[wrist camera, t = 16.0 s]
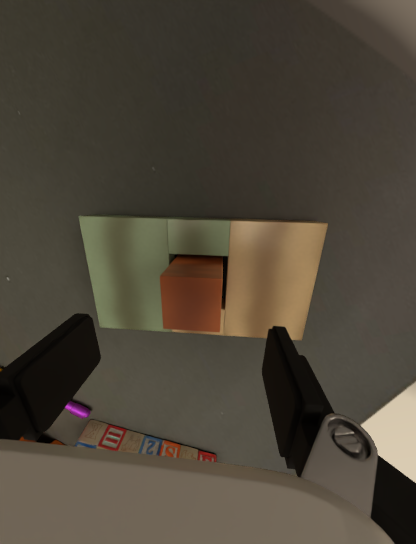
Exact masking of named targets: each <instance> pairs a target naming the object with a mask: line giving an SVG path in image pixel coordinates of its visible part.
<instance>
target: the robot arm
mask: <svg viewBox="0 0 416 544" xmlns="http://www.w3.org/2000/svg"><path fill="white" fill-rule="evenodd" d="M100 359H101V355H100V350H99V346H98V342H97V337H96V333H95V328H94V324H93V319H92V318H91V317H90V316H89V315H88V314H79V313H77V314H74V315H73V316H72V317H70V318H69V319H68V320H66V321H65V322H64V323H63V324H61V325H60V326H59V327H57V328H56V329H55V330H53V331H52V332H51V333H50V334H48V335H47V336H46V337H44V338H43V339H42V340H40V341H39V342H38V343H37V344H35V345H34V346H33V347H31V348H30V349H29V350H27V351H26V352H25V353H24V354H22V355H21V356H20V357H18V358H17V359H16V360H14V361H13V362H12V363H11V364H9V365H8V366H7V367H5V368H4V369H3V370H1V371H0V544H416V483H415V482H413V481H412V480H411V479H409V478H408V477H406V476H405V475H404V474H403V473H401V472H400V471H399V470H397V469H396V468H395V467H393V466H392V465H391V464H389V463H388V462H387V461H385V460H384V459H383V458H381V457H380V456H378V454H377V448H376V446H375V444H374V441H373V440H372V438H371V437H370V435H369V434H368V433H367V432H366V431H365V430H364V429H363V428H362V427H361V426H360V425H359V424H358V423H356V422H355V421H354V420H352V419H350V418H348V417H346V416H344V415H340V414H335V413H334V411H333V409H332V407H331V405H330V403H329V401H328V399H327V398H326V396H325V394H324V392H323V390H322V388H321V386H320V384H319V382H318V380H317V378H316V376H315V374H314V373H313V371H312V369H311V367H310V365H309V363H308V361H307V359H306V358H305V357H304V356H303V355H299V354H298V352H297V350H296V348H295V346H294V344H293V342H292V340H291V338H290V335H289V333H288V331H287V329H286V328H285V327H283V326H273V327H272V329H269V330H268V335H267V341H266V348H265V354H264V360H263V366H262V376H263V381H264V385H265V390H266V394H267V399H268V404H269V408H270V413H271V417H272V422H273V426H274V431H275V435H276V440H277V444H278V449H279V453H280V456H281V457H285V460H286V464H287V468H290V469H295V470H296V473H297V476H293V475H290V474H287V473H282V472H277V471H272V470H267V469H261V468H254V467H247V466H239V465H232V464H225V463H218V462H209V461H200V460H192V459H183V458H174V457H166V456H157V455H148V454H139V453H130V452H121V451H112V450H103V449H94V448H85V447H75V446H66V445H56V444H46V443H37V442H27V441H19V440H20V439H21V437H22V436H23V438H24V440H33V441H37V440H38V438H39V437H40V436H41V435H42V433H43V432H45V431H46V430H48V429H49V428H50V426H51V425H52V424H53V422H54V421H55V420H56V419H57V417H58V416H59V415H60V413H61V412H62V411H63V409H64V408H65V407H66V405H67V404H68V403H69V401H70V400H71V399H72V398H73V396H74V395H75V394H76V392H77V391H78V390H79V388H80V387H81V386H82V384H83V383H84V382H85V381H86V379H87V378H88V377H89V375H90V374H91V373H92V371H93V370H94V369H95V367H96V366H97V365H98V363H99V362H100Z"/></svg>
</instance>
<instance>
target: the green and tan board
mask: <svg viewBox="0 0 416 544" xmlns="http://www.w3.org/2000/svg"><path fill="white" fill-rule="evenodd" d="M79 222H80V227H81V232H82V237H83V242H84V247H85V252H86V258H87V263H88V268H89V273H90V278H91V283H92V288H93V293H94V299H95V304H96V309H97V314H98V319H99V324H100V327H103V328H118V329H134V330H149V331H164V332H172V331H173V332H182V333H197V334H213V335H223V334H224V335H226V336H242V337H257V338H267V335H268V330H269V329H272V327H273V326H283V327H285V328H286V329H287V331H288V333H289V335H290V338H291V340H302V336H303V332H304V327H305V323H306V319H307V314H308V310H309V305H310V301H311V296H312V292H313V288H314V283H315V279H316V274H317V270H318V266H319V261H320V257H321V252H322V248H323V243H324V239H325V235H326V230H327V226H328V223H323V222H317V221H298V220H264V219H229V218H195V217H161V216H126V215H85V216H79ZM175 254H187V255H212V256H227V271H226V288H225V299H224V298H222V302H221V321H220V332H205V331H190V330H174V329H163V319H162V303H161V288H160V275H161V274H162V273H163V272H164V271H165V269H166V268H167V267H168V266H169V265H170V264H171V263H172V261H173V260H174V259H175Z"/></svg>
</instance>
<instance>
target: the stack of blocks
mask: <svg viewBox="0 0 416 544" xmlns="http://www.w3.org/2000/svg"><path fill="white" fill-rule="evenodd" d="M75 447H85V448H94V449H103V450H112V451H121V452H130V453H139V454H148V455H157V456H166V457H174V458H183V459H192V460H200V461H209V462H216V455H215V454H211V453H207V452H203V451H200V450H199V451H198V449H195V448H191V447H188V446H184V445H180V444H177V443H173V442H170V441H166V440H161V439H158V438H154V437H151V436H147V435H143V434H140V433H136V432H133V431H129V430H126V429H123V428H120V427H117V426H113V425H108V424H106V423H103V422H99V421H96V420H92V419H91V420H90V421H89V423H88V424H87V426H86V428H85V429H84V431H83V432H82V434H81V436H80V437H79V439H78V441H77V443H76V444H75Z"/></svg>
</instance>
